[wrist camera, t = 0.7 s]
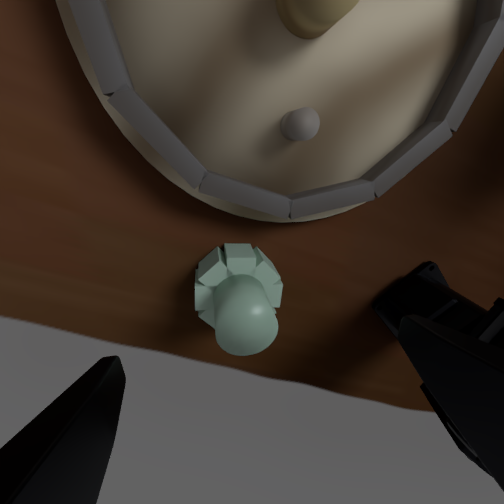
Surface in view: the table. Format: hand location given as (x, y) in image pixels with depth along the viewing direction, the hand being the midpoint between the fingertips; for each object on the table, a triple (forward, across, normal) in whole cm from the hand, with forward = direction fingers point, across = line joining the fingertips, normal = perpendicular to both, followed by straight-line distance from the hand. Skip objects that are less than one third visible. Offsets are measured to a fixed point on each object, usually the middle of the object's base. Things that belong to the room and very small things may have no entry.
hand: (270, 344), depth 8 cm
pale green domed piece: (+11, 0, +4) cm, 12 cm away
